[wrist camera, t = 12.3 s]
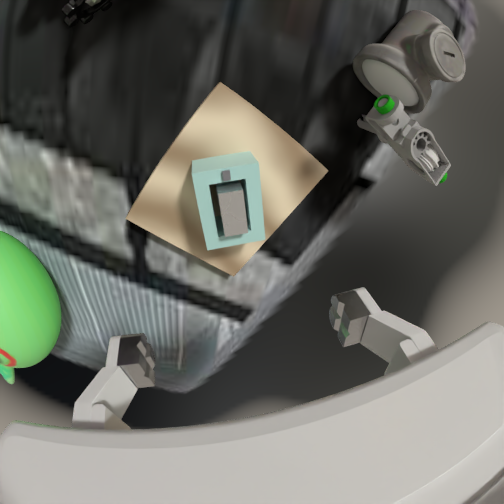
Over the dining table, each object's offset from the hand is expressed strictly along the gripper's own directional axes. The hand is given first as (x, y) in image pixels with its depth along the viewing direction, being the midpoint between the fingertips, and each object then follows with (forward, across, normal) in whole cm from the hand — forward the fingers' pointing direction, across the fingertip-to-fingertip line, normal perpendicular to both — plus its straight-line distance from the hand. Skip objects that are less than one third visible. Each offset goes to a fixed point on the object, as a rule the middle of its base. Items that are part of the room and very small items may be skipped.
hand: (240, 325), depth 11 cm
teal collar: (+18, +2, -2) cm, 18 cm away
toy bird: (+20, -28, -6) cm, 35 cm away
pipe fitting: (+19, +21, +13) cm, 31 cm away
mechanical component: (+19, +17, +4) cm, 26 cm away
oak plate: (+19, +2, -2) cm, 20 cm away
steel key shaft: (+18, +2, -2) cm, 18 cm away
